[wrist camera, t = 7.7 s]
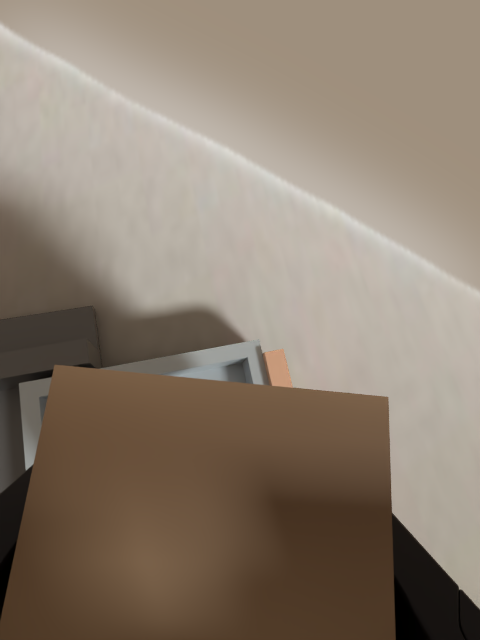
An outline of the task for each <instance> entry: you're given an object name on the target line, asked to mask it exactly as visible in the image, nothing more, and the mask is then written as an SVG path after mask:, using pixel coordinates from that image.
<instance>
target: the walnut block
mask: <svg viewBox="0 0 480 640" xmlns="http://www.w3.org/2000/svg"><path fill="white" fill-rule="evenodd" d="M0 640H396V635H395V602H394V569H393V536H392V503H391V471H390V438H389V405H388V397H383V396H373V395H362V394H352V393H342V392H331V391H321V390H311V389H301V388H290V387H280V386H270V385H259V384H249V383H239V382H229V381H218V380H208V379H198V378H187V377H177V376H167V375H156V374H146V373H136V372H126V371H115V370H105V369H95V368H84V367H74V366H64V365H54V370H53V374H52V379H51V384H50V388H49V393H48V398H47V403H46V407H45V412H44V417H43V422H42V426H41V431H40V436H39V440H38V445H37V450H36V455H35V459H34V464H33V469H32V473H31V478H30V483H29V488H28V492H27V497H26V502H25V507H24V511H23V516H22V521H21V525H20V530H19V535H18V540H17V544H16V549H15V554H14V558H13V563H12V568H11V573H10V577H9V582H8V587H7V592H6V596H5V601H4V606H3V610H2V615H1V620H0Z"/></svg>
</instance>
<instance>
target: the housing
mask: <svg viewBox="0 0 480 640" xmlns="http://www.w3.org/2000/svg"><path fill="white" fill-rule="evenodd" d="M54 365H64V366H74V367H84V368H95V369H100V368H102V363H101V355H100V348H99V340H98V333H97V325H96V317H95V310H94V308H93V306H88V307H82V308H75V309H68V310H62V311H55V312H49V313H42V314H35V315H29V316H22V317H16V318H9V319H3V320H0V493H1V492H2V491H4V490H5V489H6V488H7V487H8V486H9V485H10V484H11V483H13V482H14V481H15V480H16V479H17V478H18V477H19V476H20V475H22V474H23V473H24V472H25V471H26V467H25V455H24V442H23V430H22V417H21V405H20V393H19V383H23V382H28V381H34V380H39V379H45V378H50V377H52V374H53V370H54Z"/></svg>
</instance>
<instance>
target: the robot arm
mask: <svg viewBox="0 0 480 640" xmlns="http://www.w3.org/2000/svg"><path fill="white" fill-rule="evenodd" d="M32 469H33V465H32V466H31V467H29V468H28V469H27V470H26V471H25V472H24V473H23V474H22V475H20V476H19V477H18V478H17V479H16V480H15V481H14V482H13V483H11V484H10V485H9V486H8V487H7V488H6V489H5V490H4V491H2V492H1V493H0V620H1V615H2V610H3V606H4V601H5V596H6V592H7V587H8V582H9V577H10V573H11V568H12V563H13V558H14V554H15V549H16V544H17V540H18V535H19V530H20V525H21V521H22V516H23V511H24V507H25V502H26V497H27V492H28V488H29V483H30V478H31V473H32ZM392 536H393V569H394V602H395V635H396V640H480V609H479V608H478V607H477V606H476V605H475V604H474V603H473V601H472V600H471V599H470V598H469V597H468V596H467V595H466V594H465V593H464V591H463V590H459V587H458V585H457V584H456V583H455V582H454V581H453V580H452V578H451V577H450V576H449V575H448V574H447V573H446V572H445V571H444V570H443V568H442V567H441V566H440V565H439V564H438V563H437V562H436V561H435V560H434V559H433V557H432V556H431V555H430V554H429V553H428V552H427V551H426V550H425V549H424V547H423V546H422V545H421V544H420V543H419V542H418V541H417V540H416V539H415V538H414V536H413V535H412V534H411V533H410V532H409V531H408V530H407V529H406V528H405V526H404V525H403V524H402V523H401V522H400V521H399V520H398V519H397V518H396V516H395V515H394V514H393V513H392Z"/></svg>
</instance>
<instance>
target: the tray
mask: <svg viewBox="0 0 480 640" xmlns="http://www.w3.org/2000/svg"><path fill="white" fill-rule="evenodd" d="M100 369H105V370H115V371H126V372H136V373H146V374H156V375H167V376H177V377H187V378H198V379H208V380H218V381H229V382H239V383H249V384H259V385H270V386H280V387H290V388H293V386H292V382H291V378H290V374H289V370H288V366H287V362H286V358H285V354H284V350H283V349H280V350H275V351H270V352H265V353H263V354H262V350H261V346H260V341H259V340H253V341H248V342H242V343H237V344H231V345H226V346H220V347H215V348H209V349H204V350H198V351H193V352H187V353H182V354H176V355H171V356H166V357H160V358H155V359H149V360H144V361H138V362H133V363H127V364H122V365H116V366H111V367H105V368H100ZM51 379H52V377H50V378H45V379H39V380H34V381H28V382H23V383H19V393H20V405H21V417H22V430H23V442H24V455H25V467H26V470H27V469H28V468H29V467H31V466H32V465H33V464H34V459H35V455H36V450H37V445H38V440H39V436H40V431H41V426H42V422H43V417H44V412H45V407H46V403H47V398H48V393H49V388H50V384H51Z"/></svg>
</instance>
